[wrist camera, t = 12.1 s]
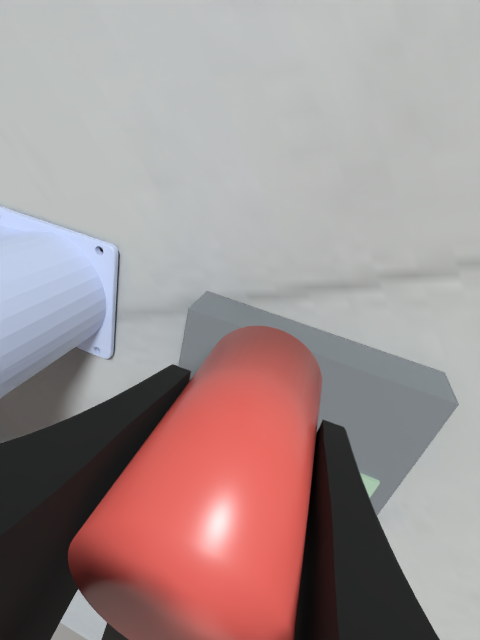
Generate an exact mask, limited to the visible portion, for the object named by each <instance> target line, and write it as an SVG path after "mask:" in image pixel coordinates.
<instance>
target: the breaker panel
mask: <svg viewBox="0 0 480 640" xmlns="http://www.w3.org/2000/svg"><path fill="white" fill-rule="evenodd" d="M247 326H268V327H272V328H277V329H279V330H282V331H285V332H287V333H289V334H291V335H292V336H294V337H295V338H297V339H298V340H300V341H301V342H302V343H303V344H304V345H305V346H306V347H307V348H308V349H309V350H310V351H311V353H312V354H313V356H314V357H315V359H316V361H317V363H318V365H319V368H320V371H321V376H322V390H321V399H320V408H319V417H318V426H317V431H318V429H319V427H320V425H321V422H322V420H326V421H329V422H331V423H334V424H337V425H340V426H342V427H344V428H345V430H346V432H347V435H348V438H349V442H350V445H351V448H352V451H353V454H354V457H355V460H356V463H357V466H358V469H359V472H360V474H361V477H362V480H363V483H364V485H365V488H366V490H367V493H368V495H369V498H370V500H371V503H372V506H373V508H374V511H375V513H376V515H378V514H379V512H380V511H381V509H382V508H383V507H384V505H385V504H386V503H387V501H388V500H389V499H390V497H391V496H392V494H393V493H394V492H395V490H396V489H397V488H398V486H399V485H400V484H401V482H402V481H403V480H404V478H405V477H406V475H407V474H408V473H409V471H410V470H411V469H412V467H413V466H414V465H415V463H416V462H417V461H418V459H419V458H420V456H421V455H422V454H423V452H424V451H425V450H426V448H427V447H428V446H429V444H430V443H431V441H432V440H433V439H434V437H435V436H436V435H437V433H438V432H439V431H440V429H441V428H442V427H443V425H444V424H445V422H446V421H447V420H448V418H449V417H450V416H451V414H452V413H453V412H454V410H455V409H456V408H457V406H458V405H459V404H458V401H457V399H456V397H455V395H454V392H453V390H452V388H451V386H450V384H449V381H448V379H447V377H446V375H445V373H444V372H441V371H438V370H435V369H432V368H429V367H426V366H423V365H420V364H417V363H414V362H412V361H409V360H406V359H403V358H400V357H397V356H394V355H391V354H388V353H385V352H382V351H380V350H377V349H374V348H371V347H368V346H365V345H362V344H359V343H356V342H353V341H350V340H348V339H345V338H342V337H339V336H336V335H333V334H330V333H327V332H324V331H321V330H318V329H316V328H313V327H310V326H307V325H304V324H301V323H298V322H295V321H292V320H289V319H286V318H284V317H281V316H278V315H275V314H272V313H269V312H266V311H263V310H260V309H257V308H254V307H252V306H249V305H246V304H243V303H240V302H237V301H234V300H231V299H228V298H225V297H222V296H219V295H217V294H214V293H211V292H208V291H207V292H206V293H205V294H204V295H202V296H201V297H200V298H199V299H198V300H197V301H196V302H195V303H194V304H193V305H192V306H191V307H189V308H188V314H187V320H186V326H185V332H184V337H183V343H182V349H181V355H180V361H179V367H181V368H184V369H187V370H189V371H191V374H190V380H191V378H192V377H193V376H194V374H195V373H196V372H197V370H198V369H199V368H200V366H201V365H202V364H203V362H204V361H205V359H206V358H207V357H208V355H209V354H210V353H211V351H212V350H213V349H214V347H215V346H216V345H217V343H218V342H219V341H220V340H221V339H222V338H223V337H224V336H225V335H227V334H228V333H230V332H232V331H234V330H236V329H239V328H243V327H247ZM190 380H189V381H190Z"/></svg>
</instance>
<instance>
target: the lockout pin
mask: <svg viewBox="0 0 480 640" xmlns="http://www.w3.org/2000/svg"><path fill="white" fill-rule="evenodd" d="M321 390H322V376H321V371H320V368H319V365H318V363H317V361H316V359H315V357H314V356H313V354H312V353H311V351H310V350H309V349H308V348H307V347H306V346H305V345H304V344H303V343H302V342H301V341H300V340H298V339H297V338H295V337H294V336H292V335H291V334H289V333H287V332H285V331H282V330H279V329H277V328H272V327H268V326H247V327H243V328H239V329H236V330H234V331H232V332H230V333H228V334H227V335H225V336H224V337H223V338H222V339H221V340H220V341H219V342H218V343H217V345H216V346H215V347H214V349H213V350H212V351H211V353H210V354H209V355H208V357H207V358H206V359H205V361H204V362H203V364H202V365H201V366H200V368H199V369H198V370H197V372H196V373H195V374H194V376H193V377H192V378H191V380H190V381H189V382H188V384H187V385H186V387H185V388H184V389H183V391H182V392H181V393H180V395H179V396H178V397H177V399H176V400H175V401H174V403H173V404H172V406H171V407H170V408H169V410H168V411H167V412H166V414H165V415H164V416H163V418H162V419H161V420H160V422H159V423H158V424H157V426H156V427H155V429H154V430H153V431H152V433H151V434H150V435H149V437H148V438H147V439H146V441H145V442H144V443H143V445H142V446H141V448H140V449H139V450H138V452H137V453H136V454H135V456H134V457H133V458H132V460H131V461H130V462H129V464H128V465H127V466H126V468H125V469H124V471H123V472H122V473H121V475H120V476H119V477H118V479H117V480H116V481H115V483H114V484H113V485H112V487H111V488H110V490H109V491H108V492H107V494H106V495H105V496H104V498H103V499H102V500H101V502H100V503H99V504H98V506H97V507H96V508H95V510H94V511H93V513H92V514H91V515H90V517H89V518H88V519H87V521H86V522H85V523H84V525H83V526H82V527H81V529H80V530H79V532H78V533H77V534H76V536H75V537H74V538H73V540H72V542H71V544H70V547H69V550H68V563H69V568H70V571H71V574H72V577H73V579H74V581H75V583H76V585H77V587H78V589H79V590H80V592H81V593H82V595H83V596H84V597H85V599H86V600H87V601H88V603H89V604H90V605H91V606H92V607H93V608H94V610H95V611H96V612H97V613H98V614H99V615H100V616H101V617H102V618H103V619H104V620H105V621H106V622H107V623H109V624H110V625H111V626H112V627H113V628H114V629H116V630H117V631H118V632H119V633H121V634H122V635H123V636H125V637H126V638H127V639H129V640H294V637H295V628H296V619H297V610H298V601H299V591H300V582H301V573H302V564H303V555H304V546H305V536H306V527H307V518H308V509H309V500H310V491H311V481H312V472H313V463H314V454H315V445H316V436H317V426H318V417H319V408H320V399H321Z"/></svg>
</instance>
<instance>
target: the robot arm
mask: <svg viewBox="0 0 480 640" xmlns="http://www.w3.org/2000/svg"><path fill="white" fill-rule="evenodd" d="M100 247H101V248H102V249H103V253H102V252H101V251H100ZM117 274H118V250H117V248H116V247H115V246H114V245H113V244H111V243H108V242H105V241H102V240H99V239H96V238H93V237H90V236H87V235H84V234H81V233H78V232H75V231H72V230H69V229H66V228H64V227H61V226H58V225H55V224H52V223H49V222H46V221H43V220H40V219H37V218H34V217H31V216H28V215H25V214H22V213H19V212H16V211H13V210H10V209H7V208H4V207H1V206H0V398H2V397H3V396H5V395H6V394H7V393H9V392H10V391H12V390H13V389H15V388H16V387H18V386H19V385H21V384H22V383H24V382H25V381H27V380H28V379H29V378H31V377H32V376H34V375H35V374H37V373H38V372H40V371H41V370H43V369H44V368H46V367H47V366H48V365H50V364H51V363H53V362H54V361H56V360H57V359H59V358H60V357H62V356H63V355H65V354H66V353H68V352H69V351H70V350H72V349H73V348H75V347H76V348H78V349H81V350H84V351H86V352H89V353H91V354H94V355H96V356H99V357H101V358H104V359H109V358H110V357H111V356H112V355H113V351H114V331H115V312H116V293H117ZM98 348H99V349H100V350H99V349H98ZM190 374H191V371H189V370H187V369H184V368H181V367H179V366H176V365H170V366H168V367H167V368H165V369H163V370H161V371H160V372H158V373H156V374H154V375H153V376H151V377H149V378H148V379H146V380H144V381H142V382H141V383H139V384H137V385H135V386H133V387H132V388H130V389H128V390H126V391H124V392H122V393H120V394H118V395H117V396H115V397H113V398H111V399H109V400H107V401H105V402H103V403H101V404H99V405H97V406H95V407H92V408H90V409H88V410H86V411H84V412H82V413H80V414H78V415H75V416H73V417H71V418H69V419H66V420H64V421H62V422H59V423H57V424H54V425H52V426H49V427H47V428H44V429H42V430H39V431H36V432H34V433H31V434H28V435H25V436H22V437H19V438H16V439H13V440H10V441H7V442H4V443H1V444H0V640H50V639H51V638H52V636H53V634H54V632H55V630H56V628H57V626H58V624H59V623H60V621H61V619H62V617H63V615H64V613H65V612H66V610H67V608H68V606H69V604H70V602H71V601H72V599H73V597H74V595H75V593H76V592H77V590H78V587H77V585H76V583H75V581H74V579H73V577H72V574H71V571H70V568H69V563H68V550H69V547H70V544H71V542H72V540H73V538H74V537H75V536H76V534H77V533H78V532H79V530H80V529H81V527H82V526H83V525H84V523H85V522H86V521H87V519H88V518H89V517H90V515H91V514H92V513H93V511H94V510H95V508H96V507H97V506H98V504H99V503H100V502H101V500H102V499H103V498H104V496H105V495H106V494H107V492H108V491H109V490H110V488H111V487H112V485H113V484H114V483H115V481H116V480H117V479H118V477H119V476H120V475H121V473H122V472H123V471H124V469H125V468H126V466H127V465H128V464H129V462H130V461H131V460H132V458H133V457H134V456H135V454H136V453H137V452H138V450H139V449H140V448H141V446H142V445H143V443H144V442H145V441H146V439H147V438H148V437H149V435H150V434H151V433H152V431H153V430H154V429H155V427H156V426H157V424H158V423H159V422H160V420H161V419H162V418H163V416H164V415H165V414H166V412H167V411H168V410H169V408H170V407H171V406H172V404H173V403H174V401H175V400H176V399H177V397H178V396H179V395H180V393H181V392H182V391H183V389H184V388H185V387H186V385H187V384H188V382H189V380H190ZM294 640H440V639H439V638H438V636H437V634H436V633H435V631H434V629H433V628H432V626H431V624H430V622H429V620H428V619H427V617H426V615H425V613H424V611H423V610H422V608H421V606H420V604H419V602H418V600H417V599H416V597H415V595H414V593H413V591H412V589H411V587H410V585H409V583H408V581H407V579H406V578H405V576H404V574H403V572H402V570H401V568H400V566H399V564H398V562H397V560H396V557H395V555H394V553H393V551H392V549H391V547H390V545H389V542H388V540H387V538H386V536H385V534H384V531H383V529H382V527H381V525H380V522H379V520H378V518H377V515H376V513H375V511H374V508H373V506H372V503H371V500H370V498H369V495H368V493H367V490H366V488H365V485H364V483H363V480H362V477H361V474H360V472H359V469H358V466H357V463H356V460H355V457H354V454H353V451H352V448H351V445H350V442H349V438H348V435H347V432H346V430H345V428H344V427H342V426H340V425H337V424H334V423H331V422H329V421H326V420H322V422H321V425H320V427H319V429H318V431H317V436H316V445H315V454H314V463H313V472H312V481H311V491H310V500H309V509H308V518H307V527H306V536H305V546H304V555H303V564H302V573H301V582H300V591H299V601H298V610H297V619H296V628H295V637H294Z"/></svg>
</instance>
